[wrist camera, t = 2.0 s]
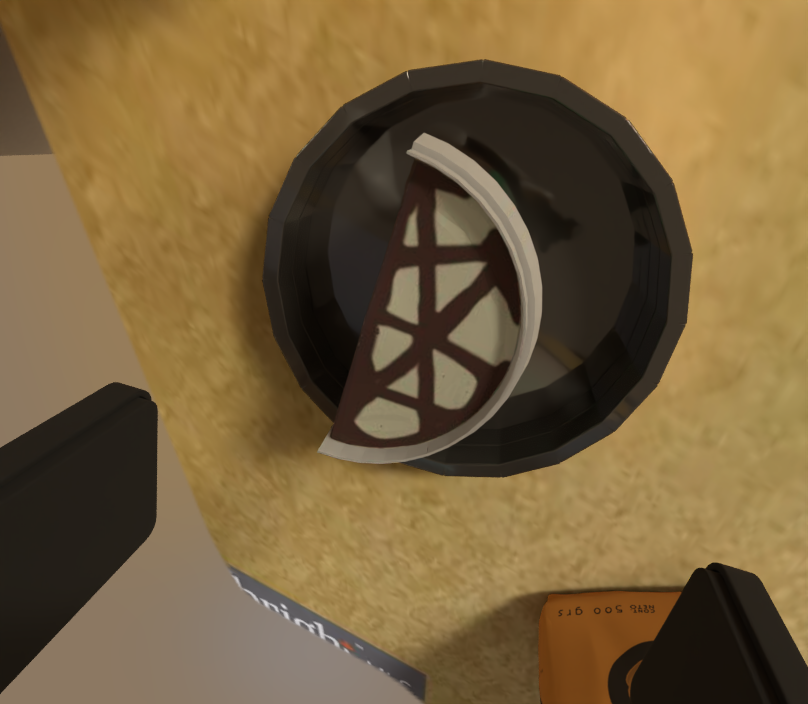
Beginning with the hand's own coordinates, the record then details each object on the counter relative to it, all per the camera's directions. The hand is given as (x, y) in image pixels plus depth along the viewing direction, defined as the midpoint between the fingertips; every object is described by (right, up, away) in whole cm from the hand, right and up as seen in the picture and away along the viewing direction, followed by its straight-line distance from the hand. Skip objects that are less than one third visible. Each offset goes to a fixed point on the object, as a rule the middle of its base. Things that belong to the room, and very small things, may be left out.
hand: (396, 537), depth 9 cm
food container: (+3, +7, +18) cm, 19 cm away
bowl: (+3, +7, +18) cm, 20 cm away
